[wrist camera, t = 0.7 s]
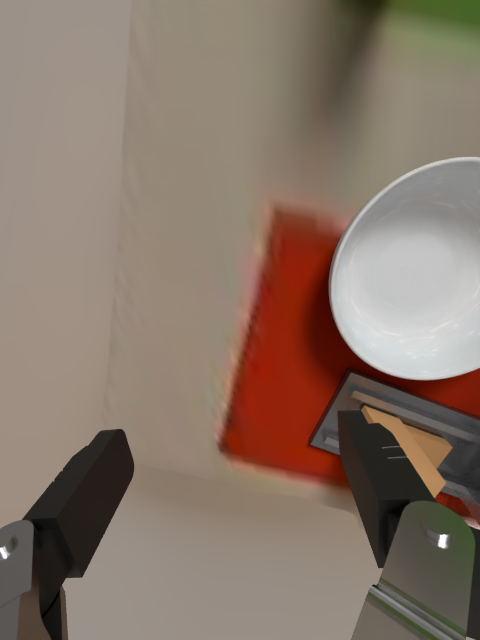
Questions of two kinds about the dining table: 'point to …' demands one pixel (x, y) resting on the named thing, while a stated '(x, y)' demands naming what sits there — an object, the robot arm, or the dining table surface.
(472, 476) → the rail
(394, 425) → the block
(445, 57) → the dining table surface
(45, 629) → the robot arm
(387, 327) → the serving bowl
